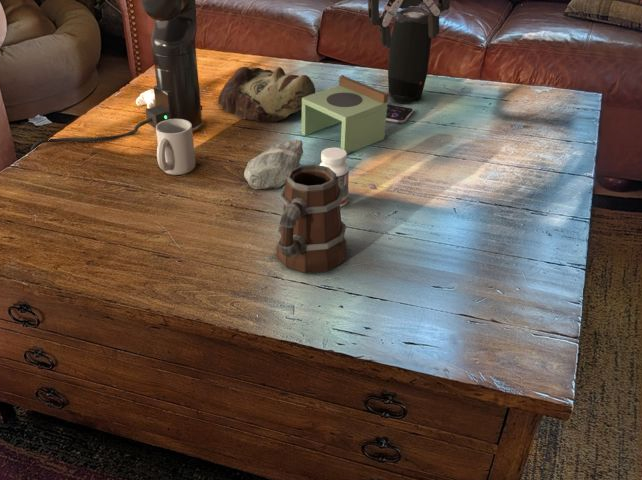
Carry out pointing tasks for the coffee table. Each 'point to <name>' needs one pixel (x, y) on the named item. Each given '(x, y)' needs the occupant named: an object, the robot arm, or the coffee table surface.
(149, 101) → the astronaut figurine
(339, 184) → the pill bottle
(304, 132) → the green footstool with circle
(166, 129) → the cup
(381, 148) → the coffee table surface
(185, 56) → the robot arm
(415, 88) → the portable speaker
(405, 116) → the smartphone
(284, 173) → the decorative stone
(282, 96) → the sculpture
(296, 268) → the mug
